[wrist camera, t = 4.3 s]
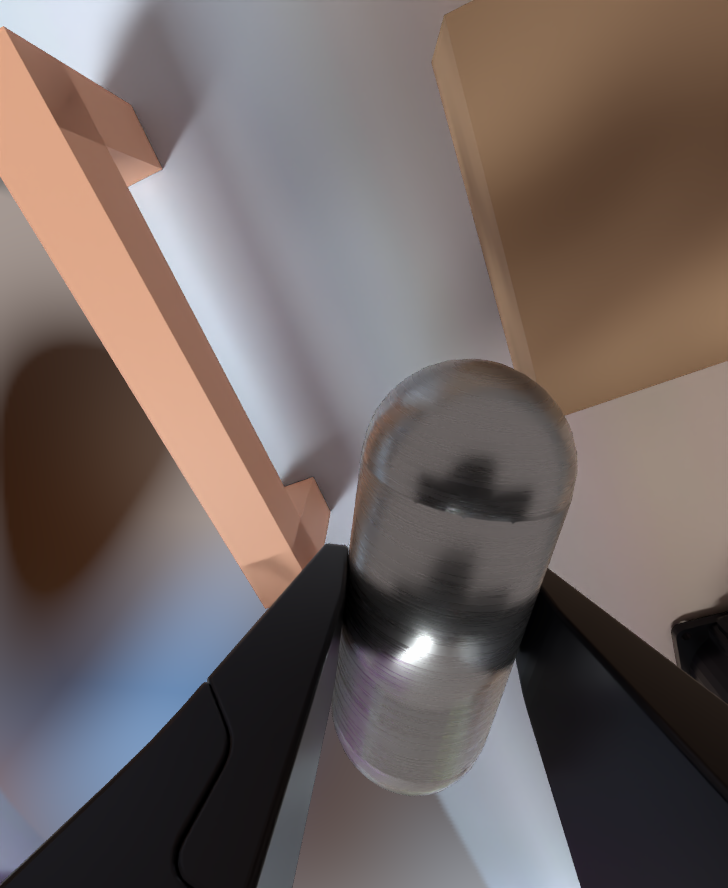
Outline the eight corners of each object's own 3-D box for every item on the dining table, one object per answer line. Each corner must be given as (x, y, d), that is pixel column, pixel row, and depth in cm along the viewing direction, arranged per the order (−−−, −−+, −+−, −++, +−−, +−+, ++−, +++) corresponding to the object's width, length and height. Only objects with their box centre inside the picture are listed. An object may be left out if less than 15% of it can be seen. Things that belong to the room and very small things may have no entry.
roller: (373, 330, 7) (377, 378, 4) (553, 352, 7) (665, 413, 5) (330, 674, 10) (317, 828, 8) (456, 686, 10) (487, 841, 8)
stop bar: (330, 511, 21) (315, 593, 16) (292, 524, 21) (265, 608, 16) (131, 105, 15) (3, 26, 10) (82, 131, 15) (-66, 68, 10)
